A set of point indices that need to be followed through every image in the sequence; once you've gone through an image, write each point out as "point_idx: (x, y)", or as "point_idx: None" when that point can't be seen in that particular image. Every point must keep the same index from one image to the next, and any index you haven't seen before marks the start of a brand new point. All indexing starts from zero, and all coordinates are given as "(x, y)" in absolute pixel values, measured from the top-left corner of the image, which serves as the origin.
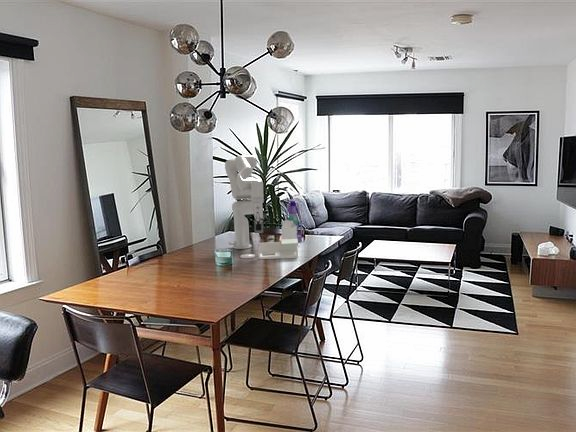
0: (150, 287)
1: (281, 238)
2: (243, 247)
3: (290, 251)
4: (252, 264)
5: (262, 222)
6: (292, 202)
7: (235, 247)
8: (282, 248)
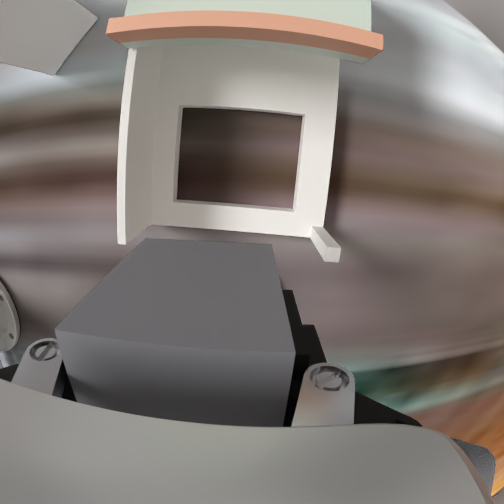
0: (496, 462)
1: (206, 13)
2: (11, 310)
3: None
4: (440, 272)
5: (292, 339)
6: None
7: (14, 344)
8: (157, 48)
